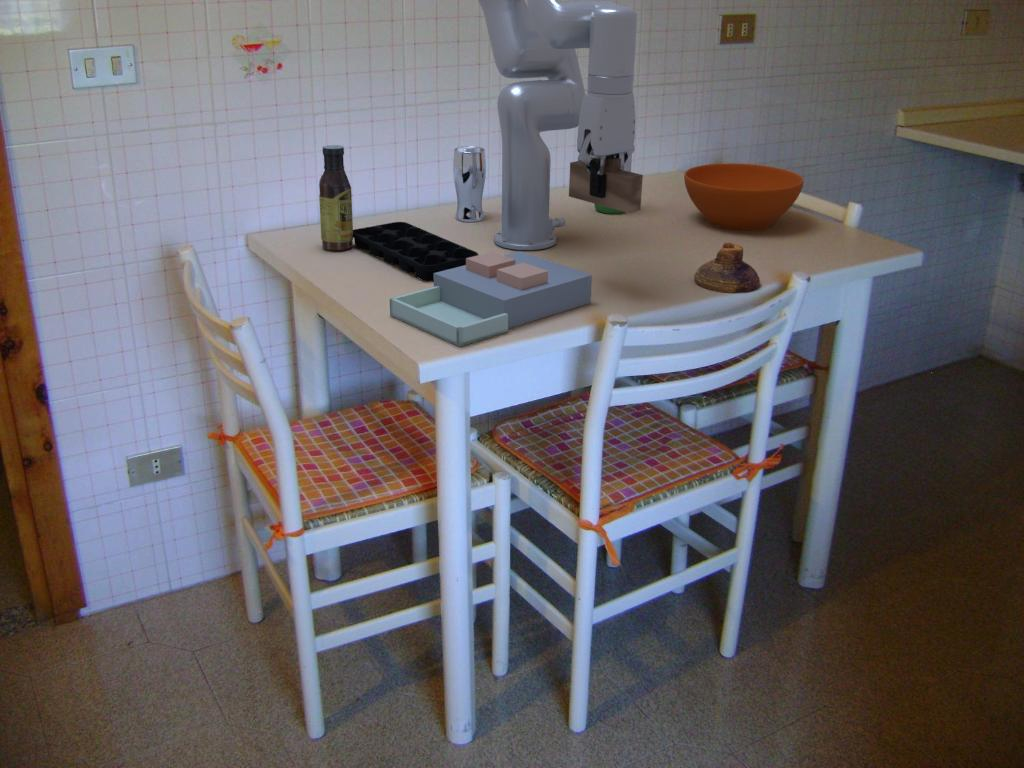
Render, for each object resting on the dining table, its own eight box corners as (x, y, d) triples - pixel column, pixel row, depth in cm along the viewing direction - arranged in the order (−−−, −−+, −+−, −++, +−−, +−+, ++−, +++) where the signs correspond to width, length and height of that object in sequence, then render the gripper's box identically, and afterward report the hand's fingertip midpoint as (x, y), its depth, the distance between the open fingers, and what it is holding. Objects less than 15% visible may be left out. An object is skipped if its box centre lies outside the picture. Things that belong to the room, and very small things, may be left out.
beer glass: (491, 217, 233) (492, 148, 226) (473, 224, 227) (473, 154, 221) (465, 212, 236) (465, 144, 230) (447, 219, 231) (446, 150, 224)
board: (519, 277, 195) (520, 251, 193) (590, 302, 183) (591, 275, 181) (434, 301, 183) (433, 273, 181) (503, 330, 170) (503, 300, 168)
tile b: (523, 273, 181) (523, 262, 180) (547, 282, 177) (547, 271, 176) (496, 281, 177) (496, 269, 176) (521, 290, 173) (521, 278, 172)
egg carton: (435, 288, 190) (435, 268, 189) (327, 253, 208) (326, 235, 207) (501, 266, 202) (501, 247, 201) (393, 235, 220) (393, 218, 219)
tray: (437, 302, 182) (437, 285, 181) (507, 331, 170) (508, 314, 169) (390, 315, 176) (389, 298, 175) (459, 347, 164) (459, 328, 162)
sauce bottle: (347, 253, 207) (342, 151, 199) (317, 251, 208) (310, 149, 200) (358, 244, 213) (353, 144, 205) (328, 241, 214) (323, 142, 206)
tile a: (492, 262, 186) (492, 251, 185) (515, 271, 182) (515, 259, 181) (465, 269, 183) (465, 258, 182) (488, 278, 179) (488, 266, 178)
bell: (740, 299, 186) (744, 259, 183) (681, 284, 193) (684, 245, 190) (771, 283, 195) (776, 244, 192) (714, 269, 202) (717, 232, 199)
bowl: (822, 226, 229) (828, 180, 225) (739, 244, 216) (744, 195, 212) (738, 201, 248) (742, 158, 244) (657, 216, 235) (660, 171, 231)
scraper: (580, 193, 190) (582, 148, 186) (640, 210, 180) (643, 163, 177) (568, 196, 188) (570, 151, 184) (628, 213, 178) (631, 165, 175)
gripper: (626, 78, 183) (619, 183, 191) (559, 87, 173) (555, 198, 181) (659, 83, 178) (652, 191, 186) (593, 93, 168) (588, 207, 176)
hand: (604, 193), depth 183 cm, fingers closed on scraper, 3 cm apart
